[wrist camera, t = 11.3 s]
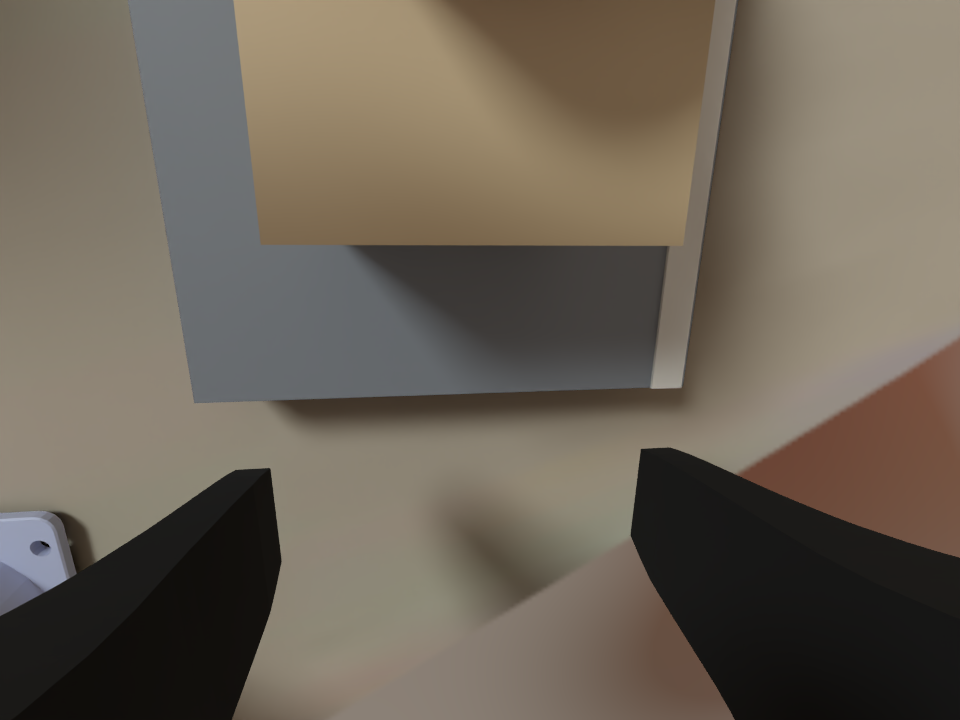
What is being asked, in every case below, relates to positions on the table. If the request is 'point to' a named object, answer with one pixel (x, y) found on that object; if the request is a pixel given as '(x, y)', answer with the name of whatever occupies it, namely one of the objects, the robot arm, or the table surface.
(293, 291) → the loading dock
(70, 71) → the table surface
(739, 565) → the robot arm
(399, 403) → the table surface
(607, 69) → the tan rectangular block
